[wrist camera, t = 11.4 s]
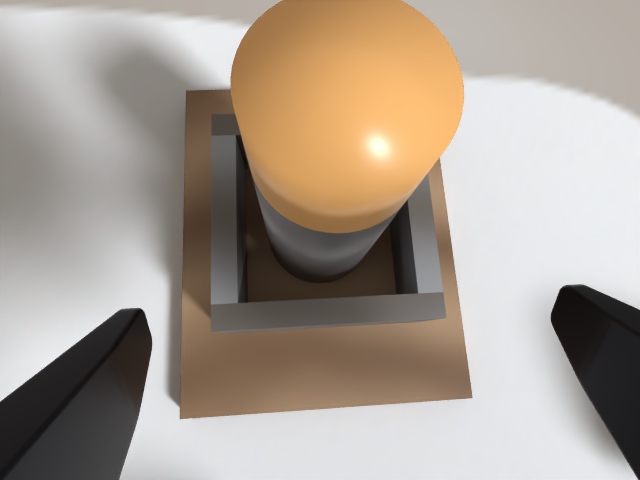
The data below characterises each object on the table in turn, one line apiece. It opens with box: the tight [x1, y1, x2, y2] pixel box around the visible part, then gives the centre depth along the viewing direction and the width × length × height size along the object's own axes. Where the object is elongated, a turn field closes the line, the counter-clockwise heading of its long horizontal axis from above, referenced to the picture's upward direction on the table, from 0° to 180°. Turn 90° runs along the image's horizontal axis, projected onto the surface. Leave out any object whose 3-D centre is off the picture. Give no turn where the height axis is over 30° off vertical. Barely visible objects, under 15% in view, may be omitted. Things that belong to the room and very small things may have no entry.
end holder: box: [180, 90, 472, 419], centre depth 19 cm, size 16×13×5 cm
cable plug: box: [231, 0, 464, 283], centre depth 14 cm, size 5×5×12 cm
